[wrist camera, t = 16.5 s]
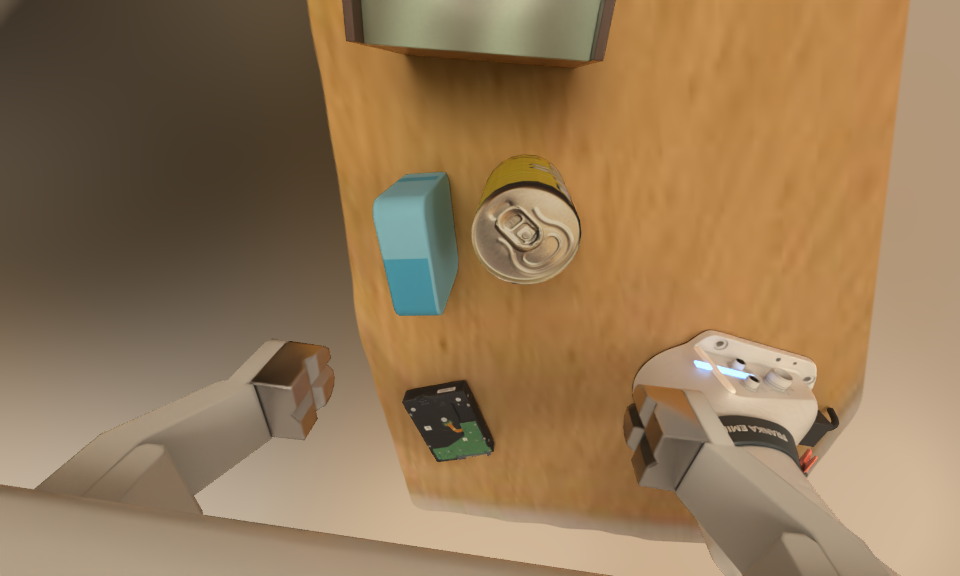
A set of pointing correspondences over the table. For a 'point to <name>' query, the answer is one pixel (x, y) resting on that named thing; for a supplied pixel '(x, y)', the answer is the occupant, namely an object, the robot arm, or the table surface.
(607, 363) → the table surface
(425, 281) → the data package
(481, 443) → the disk drive
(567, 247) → the beverage can
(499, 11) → the step shelf
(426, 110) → the table surface
